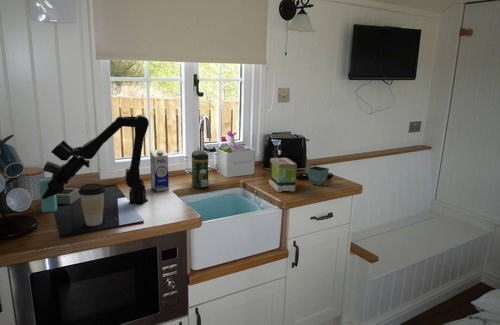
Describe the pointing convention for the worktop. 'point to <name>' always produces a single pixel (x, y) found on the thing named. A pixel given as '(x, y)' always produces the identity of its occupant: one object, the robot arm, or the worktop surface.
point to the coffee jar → (199, 169)
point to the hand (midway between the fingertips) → (44, 195)
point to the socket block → (68, 196)
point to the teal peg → (50, 202)
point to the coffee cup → (92, 203)
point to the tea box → (282, 174)
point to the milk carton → (159, 170)
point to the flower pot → (317, 175)
